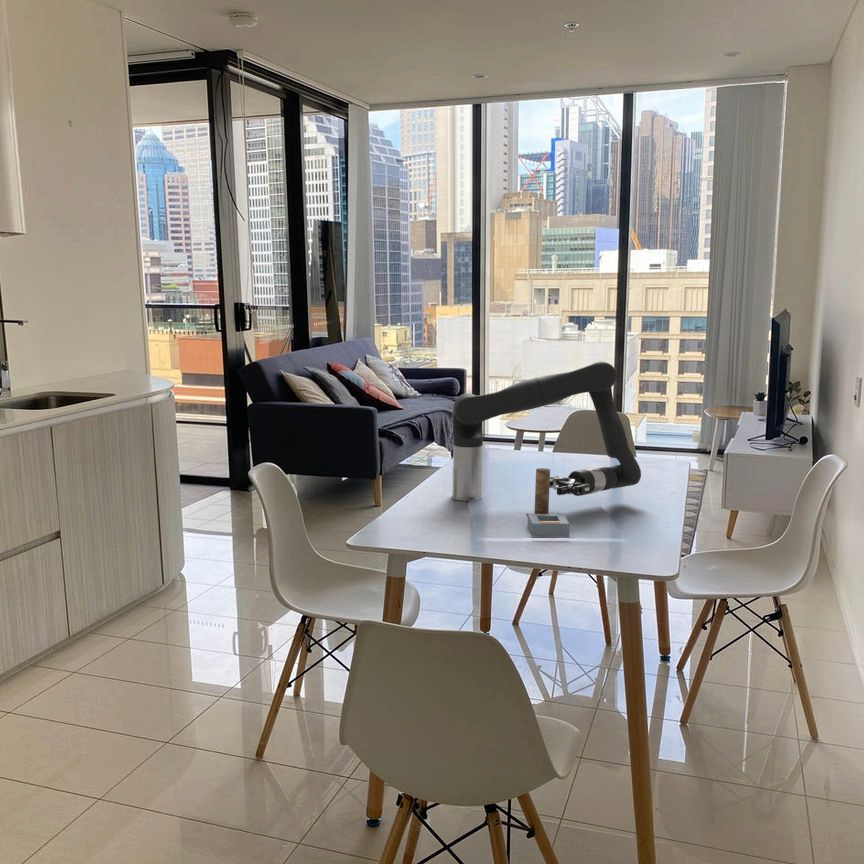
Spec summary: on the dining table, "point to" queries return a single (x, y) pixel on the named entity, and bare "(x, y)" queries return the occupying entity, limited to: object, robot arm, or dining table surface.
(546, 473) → the walnut peg
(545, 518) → the socket block
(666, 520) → the dining table surface
